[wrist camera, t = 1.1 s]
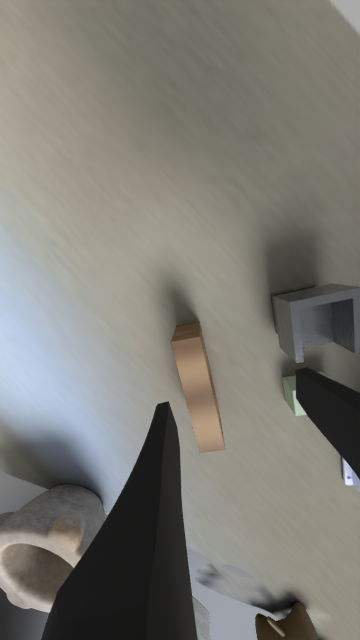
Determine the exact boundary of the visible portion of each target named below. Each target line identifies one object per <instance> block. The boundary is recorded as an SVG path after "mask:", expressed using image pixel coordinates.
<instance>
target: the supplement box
mask: <svg viewBox="0 0 360 640" xmlns="http://www.w3.org/2000/svg"><path fill="white" fill-rule="evenodd" d="M192 599H193V607H194V614H195V622H196V630H197V637H198V640H210V616H209V611H208V610H207V609H206V608H205V607H204V606H203V605H202V604H201V603H199V602H198V601H197V600H196V599H195V598H194V597H193V596H192Z"/></svg>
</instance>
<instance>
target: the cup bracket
mask: <svg viewBox="0 0 360 640" xmlns="http://www.w3.org/2000/svg"><path fill="white" fill-rule="evenodd" d="M271 298H272V305H273V313H274V320H275V328H276V333H277V334H278V337H279V344H280V348H281V349H282V350H283V351H284V352H285V353H286V354H287V355H288V356H289V357H290V358H292V359H293V360H294V361H295V362H296V363H301V362H304V356H303V347H308V346H314V345H319V344H325V343H331V342H335V343H337V344H339V345H340V346H342V347H344V348H346V349H348V350H350V351H352V352H353V353H360V287H355V286H346V285H337V284H328V285H323V286H319V285H317V284H315V285H310V286H306V287H301V288H296V289H292V290H287V291H283V292H278V293H273V294H271Z"/></svg>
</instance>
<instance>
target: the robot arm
mask: <svg viewBox="0 0 360 640" xmlns="http://www.w3.org/2000/svg"><path fill="white" fill-rule="evenodd" d="M296 399H297V401H298V402H299V404H300V405H301V407H302V408H303V410H304V411H305V413H306V414H307V416H308V417H309V418H310V419H311V420H312V422H313V423H314V424H315V425H316V426H317V428H318V429H319V430H320V431H321V432H322V434H323V435H324V436H325V437H326V438H327V439H328V441H329V442H330V443H331V444H332V445H333V446H334V448H335V449H336V450H337V451H338V452H339V454H340V455H341V456H342V463H343V479H344V483H345V484H346V485H354V486H355V488H356V489H357V490H358V492H359V493H360V393H359V392H357V391H355V390H353V389H350V388H348V387H346V386H344V385H342V384H340V383H338V382H336V381H334V380H332V379H330V378H328V377H326V376H324V375H322V374H320V373H318V372H315V371H313V370H311V369H309V368H307V367H306V368H302V369H298V370H296ZM41 640H198V637H197V630H196V622H195V614H194V607H193V599H192V591H191V583H190V574H189V566H188V558H187V549H186V540H185V531H184V522H183V512H182V499H181V470H180V446H179V438H178V430H177V425H176V422H175V419H174V416H173V413H172V410H171V407H170V404H169V401H168V402H164V403H160V404H158V405H157V406H156V410H155V413H154V417H153V420H152V423H151V426H150V429H149V432H148V434H147V437H146V440H145V442H144V445H143V447H142V450H141V452H140V454H139V457H138V459H137V462H136V464H135V466H134V468H133V470H132V472H131V474H130V476H129V478H128V480H127V482H126V484H125V486H124V488H123V490H122V492H121V494H120V496H119V497H118V499H117V501H116V503H115V505H114V506H113V508H112V510H111V512H110V513H109V515H108V517H107V518H106V520H105V521H104V523H103V525H102V526H101V528H100V529H99V531H98V533H97V534H96V536H95V537H94V539H93V541H92V542H91V544H90V545H89V547H88V548H87V550H86V551H85V553H84V554H83V556H82V557H81V559H80V560H79V561H78V563H77V564H76V566H75V567H74V569H73V570H72V571H71V573H70V574H69V576H68V577H67V579H66V580H65V582H64V583H63V584H62V586H61V587H60V589H59V590H58V591H57V594H56V597H55V600H54V603H53V605H52V608H51V610H50V613H49V616H48V619H47V622H46V625H45V629H44V632H43V635H42V639H41Z"/></svg>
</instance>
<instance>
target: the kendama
mask: <svg viewBox="0 0 360 640" xmlns="http://www.w3.org/2000/svg"><path fill="white" fill-rule="evenodd" d="M255 619H256V620H255V623H256V624H255V626H256V633H257V639H258V640H318V636H317V633H316V631H315V628H314V626H313V623H312V621H311V619H310V617H309V615H308V613H307V611H306V610H305V608H304V607H303V606H302V604H300V603H299V602H296V603H295V604H294V606H293V608H292V610H291V612H290V614H289V615H288V616H287V617H286V618H284V619H281V620H278V621H275V620H273V619H272V618H271V617H269V616H268V617H266V616H264V615H262V614H259V613H258V614H257V615H256V618H255Z"/></svg>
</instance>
